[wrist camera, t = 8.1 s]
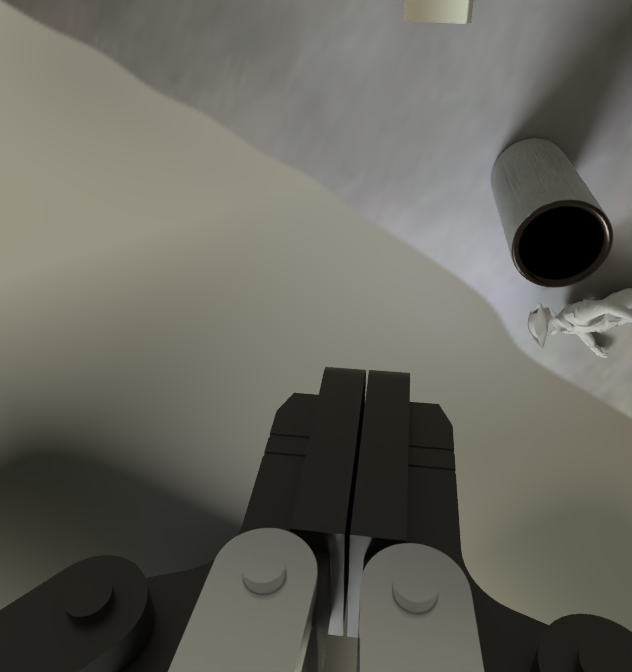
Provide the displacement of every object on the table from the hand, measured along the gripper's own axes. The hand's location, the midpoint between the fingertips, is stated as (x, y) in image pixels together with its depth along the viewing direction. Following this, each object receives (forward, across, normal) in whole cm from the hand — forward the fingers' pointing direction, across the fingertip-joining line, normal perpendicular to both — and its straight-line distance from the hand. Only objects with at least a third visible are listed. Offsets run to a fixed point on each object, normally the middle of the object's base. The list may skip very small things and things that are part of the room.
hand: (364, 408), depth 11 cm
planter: (+29, -8, +5) cm, 31 cm away
